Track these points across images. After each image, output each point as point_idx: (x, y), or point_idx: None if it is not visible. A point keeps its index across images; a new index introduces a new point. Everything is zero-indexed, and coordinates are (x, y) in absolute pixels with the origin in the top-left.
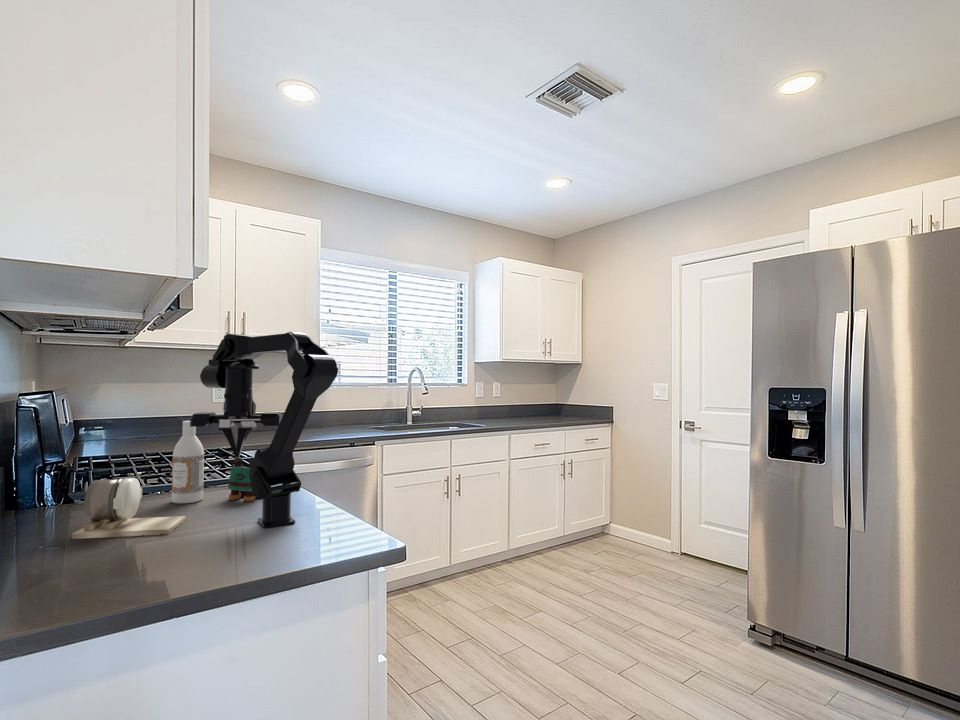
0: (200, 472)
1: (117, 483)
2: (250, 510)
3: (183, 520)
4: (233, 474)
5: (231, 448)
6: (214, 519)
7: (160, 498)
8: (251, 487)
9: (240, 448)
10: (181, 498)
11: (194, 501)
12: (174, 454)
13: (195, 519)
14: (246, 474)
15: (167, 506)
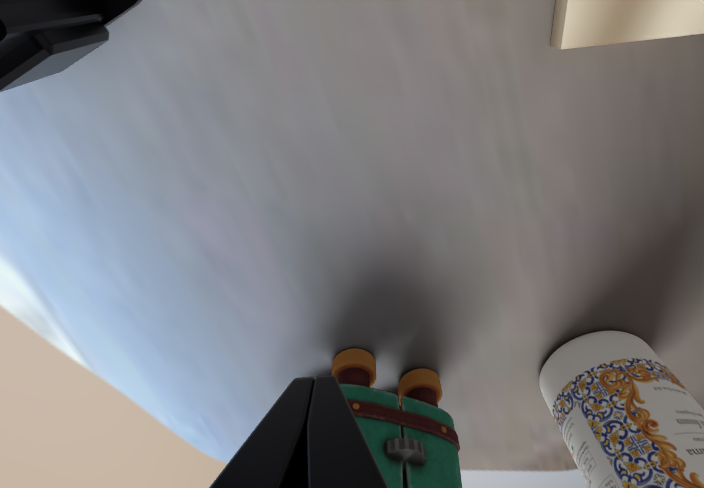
0: (603, 469)
1: None
2: (288, 222)
3: (558, 15)
4: (442, 472)
5: (366, 446)
6: (405, 64)
7: None
8: None
9: (237, 458)
10: (621, 342)
11: (562, 345)
12: None
13: (502, 72)
14: None
15: (658, 300)
